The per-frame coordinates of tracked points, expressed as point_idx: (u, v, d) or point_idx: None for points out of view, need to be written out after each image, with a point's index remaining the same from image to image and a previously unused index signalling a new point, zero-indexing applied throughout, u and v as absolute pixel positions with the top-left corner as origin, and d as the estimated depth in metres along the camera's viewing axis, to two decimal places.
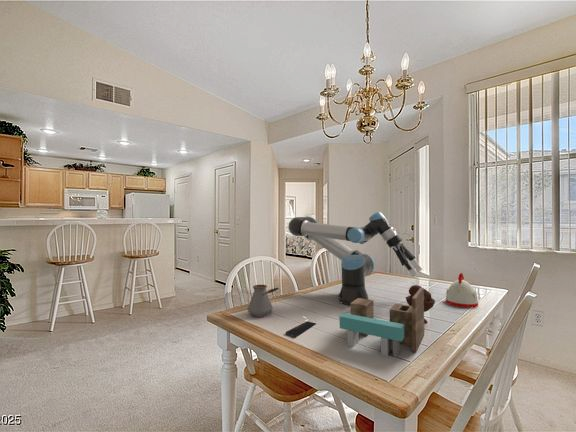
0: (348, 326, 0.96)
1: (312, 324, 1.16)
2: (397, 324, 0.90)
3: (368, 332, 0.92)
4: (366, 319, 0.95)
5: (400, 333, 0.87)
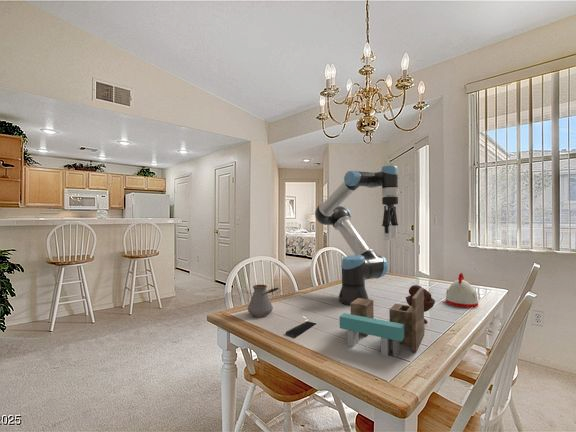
0: (348, 326, 0.96)
1: (312, 324, 1.16)
2: (397, 324, 0.90)
3: (368, 332, 0.92)
4: (366, 319, 0.95)
5: (400, 333, 0.87)
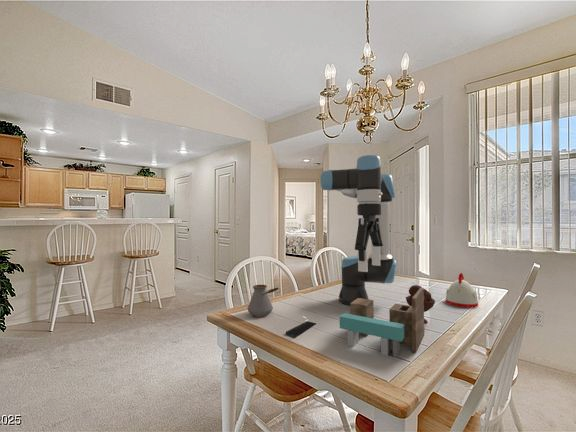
0: (348, 326, 0.96)
1: (312, 324, 1.16)
2: (397, 324, 0.90)
3: (368, 332, 0.92)
4: (366, 319, 0.95)
5: (400, 333, 0.87)
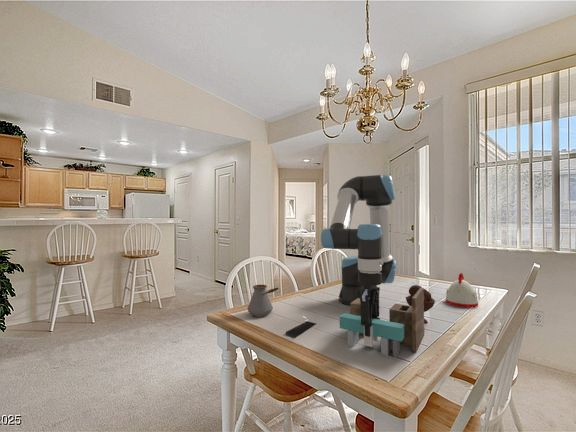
0: (348, 326, 0.96)
1: (312, 324, 1.16)
2: (397, 324, 0.90)
3: None
4: None
5: (400, 333, 0.87)
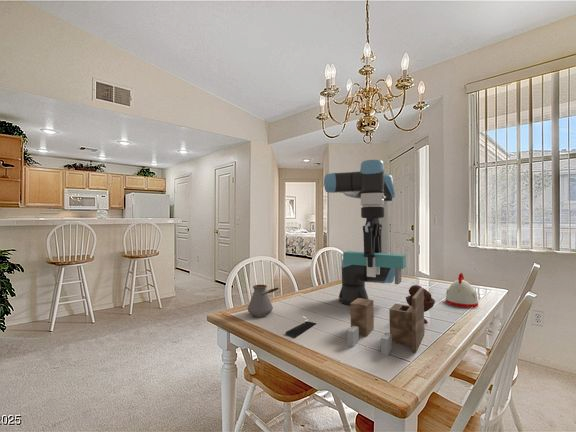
0: (351, 261, 1.00)
1: (312, 324, 1.16)
2: (399, 254, 0.93)
3: None
4: None
5: (402, 261, 0.90)
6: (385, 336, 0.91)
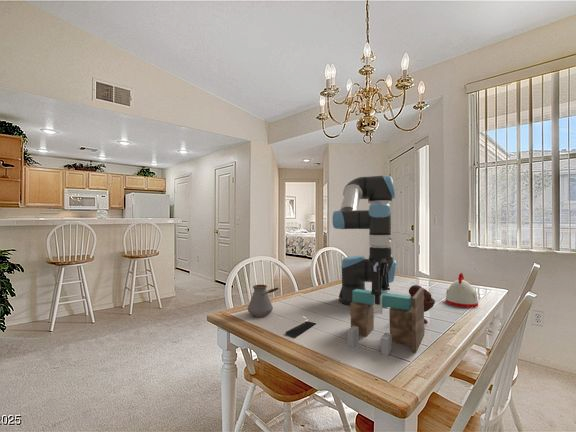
0: (360, 300, 1.06)
1: (312, 324, 1.16)
2: (405, 296, 1.00)
3: None
4: None
5: (408, 303, 0.97)
6: (385, 336, 0.91)
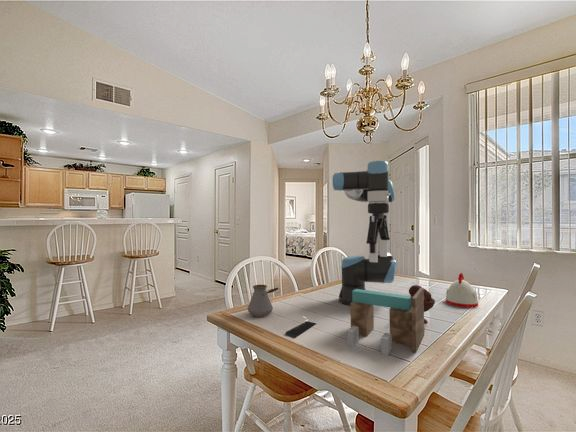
0: (360, 300, 1.06)
1: (312, 324, 1.16)
2: (405, 296, 1.00)
3: (379, 304, 1.02)
4: (376, 293, 1.05)
5: (408, 303, 0.97)
6: (385, 336, 0.91)
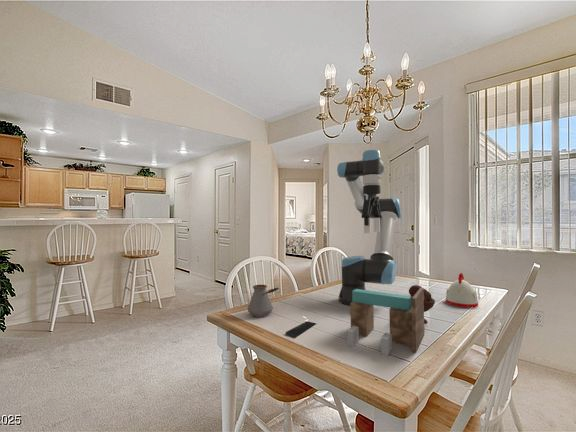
0: (360, 300, 1.06)
1: (312, 324, 1.16)
2: (405, 296, 1.00)
3: (379, 304, 1.02)
4: (376, 293, 1.05)
5: (408, 303, 0.97)
6: (385, 336, 0.91)
